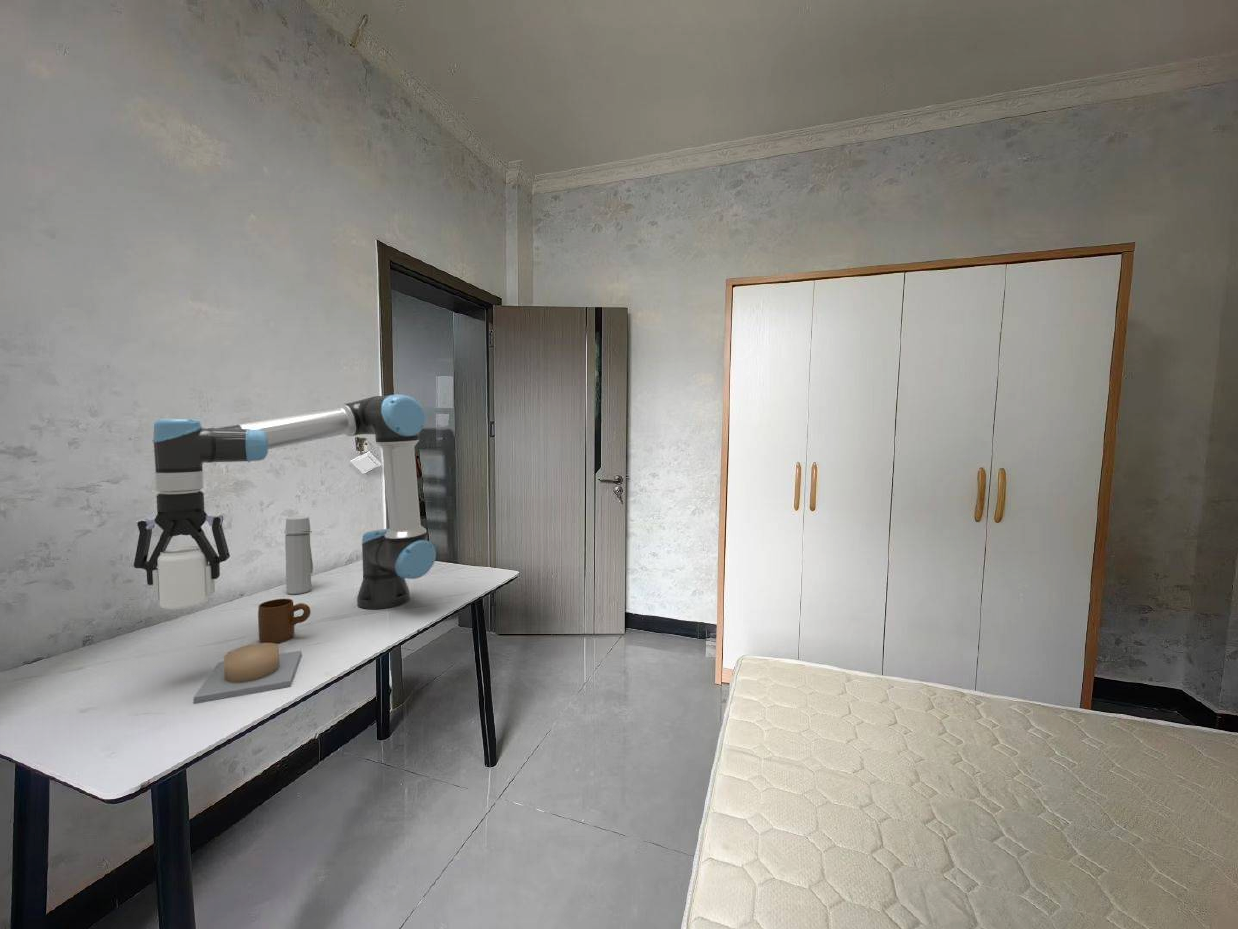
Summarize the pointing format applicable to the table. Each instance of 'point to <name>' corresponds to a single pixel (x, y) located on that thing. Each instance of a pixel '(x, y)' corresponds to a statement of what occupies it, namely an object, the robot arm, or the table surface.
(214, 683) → the pedestal
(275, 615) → the mug
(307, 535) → the water bottle
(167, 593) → the beverage can
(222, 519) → the robot arm
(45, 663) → the table surface
